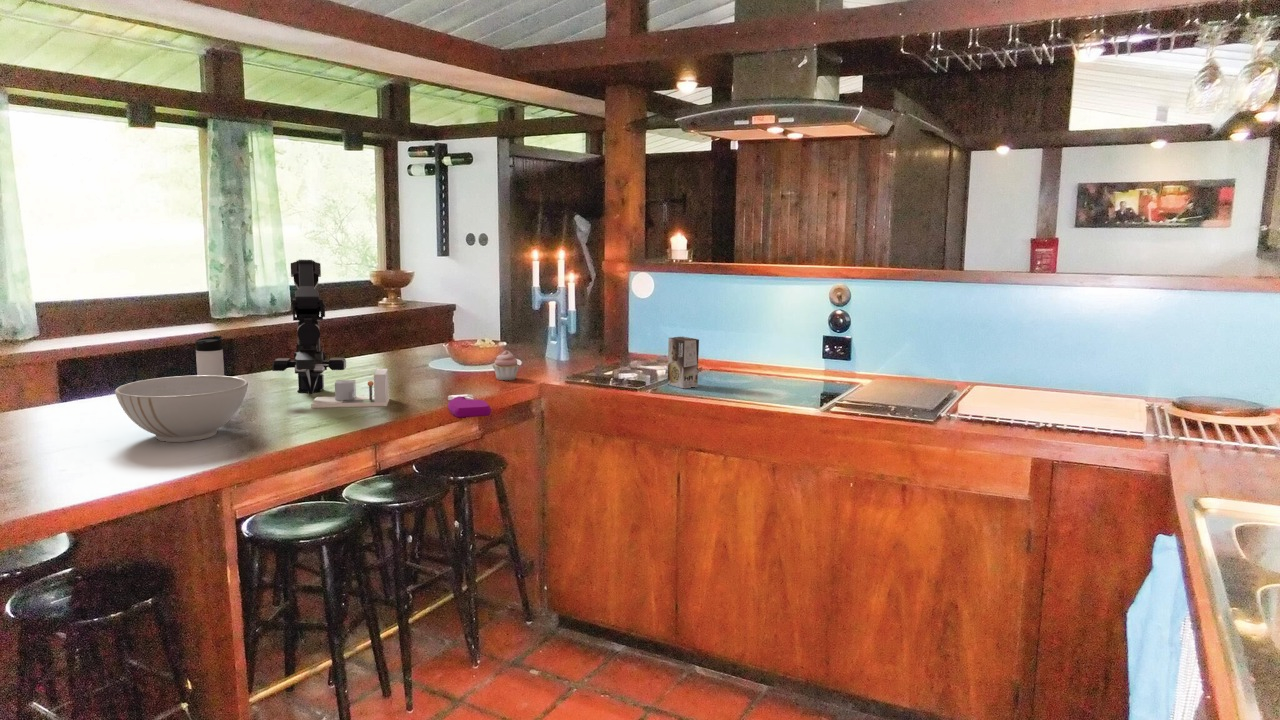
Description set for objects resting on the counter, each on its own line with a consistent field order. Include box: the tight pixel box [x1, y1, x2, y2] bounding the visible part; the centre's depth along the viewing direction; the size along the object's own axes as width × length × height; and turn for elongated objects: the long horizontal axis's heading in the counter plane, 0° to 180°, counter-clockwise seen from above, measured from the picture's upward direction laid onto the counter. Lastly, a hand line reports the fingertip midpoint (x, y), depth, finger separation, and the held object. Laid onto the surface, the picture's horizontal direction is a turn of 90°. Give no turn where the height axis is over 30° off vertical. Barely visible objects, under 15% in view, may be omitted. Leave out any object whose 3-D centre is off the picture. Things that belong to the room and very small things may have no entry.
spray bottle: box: [447, 393, 492, 419], centre depth 224 cm, size 3×11×24 cm
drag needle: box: [367, 380, 374, 400], centre depth 224 cm, size 2×2×5 cm
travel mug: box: [195, 335, 225, 376], centre depth 210 cm, size 6×7×20 cm
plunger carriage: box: [334, 379, 357, 400], centre depth 225 cm, size 5×8×5 cm, turn 14°
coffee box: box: [667, 336, 700, 389], centre depth 264 cm, size 9×6×16 cm
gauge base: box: [310, 368, 390, 409], centre depth 225 cm, size 20×10×9 cm, turn 104°
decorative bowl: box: [114, 374, 249, 443], centre depth 186 cm, size 27×27×12 cm
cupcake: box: [491, 349, 521, 381], centre depth 269 cm, size 9×9×10 cm
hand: (310, 394), depth 224 cm, fingers closed
